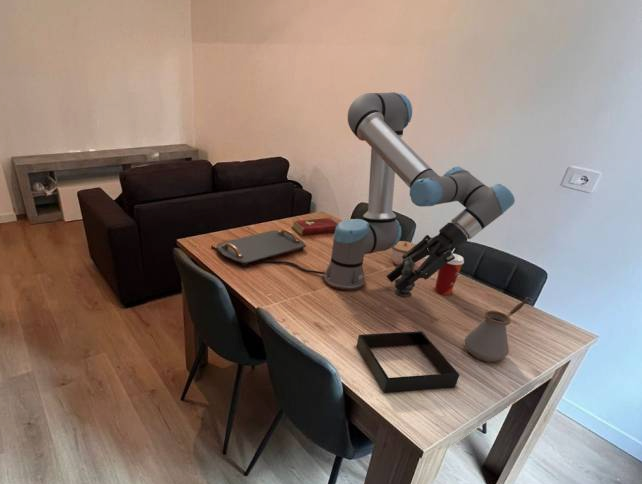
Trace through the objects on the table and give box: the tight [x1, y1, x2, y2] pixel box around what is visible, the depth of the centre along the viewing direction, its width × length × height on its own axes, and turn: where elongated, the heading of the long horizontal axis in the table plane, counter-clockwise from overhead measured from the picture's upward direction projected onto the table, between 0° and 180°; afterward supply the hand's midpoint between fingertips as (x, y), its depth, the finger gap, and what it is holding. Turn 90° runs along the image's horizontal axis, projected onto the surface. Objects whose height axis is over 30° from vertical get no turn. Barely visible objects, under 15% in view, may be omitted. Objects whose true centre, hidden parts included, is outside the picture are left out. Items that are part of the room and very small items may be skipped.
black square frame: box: [356, 330, 460, 394], centre depth 112 cm, size 20×20×4 cm
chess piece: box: [393, 258, 416, 299], centre depth 122 cm, size 6×6×12 cm
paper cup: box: [434, 252, 465, 296], centre depth 148 cm, size 8×8×14 cm
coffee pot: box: [464, 296, 534, 363], centre depth 117 cm, size 21×12×15 cm, turn 121°
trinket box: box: [390, 240, 416, 266], centre depth 170 cm, size 11×11×9 cm
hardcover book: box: [291, 217, 339, 237], centre depth 202 cm, size 12×21×4 cm, turn 107°
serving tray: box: [216, 228, 307, 268], centre depth 178 cm, size 39×23×6 cm, turn 125°
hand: (393, 283), depth 122 cm, fingers closed on chess piece, 5 cm apart
